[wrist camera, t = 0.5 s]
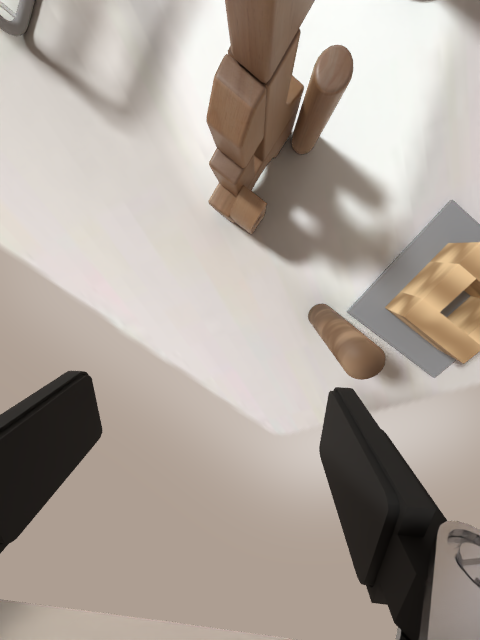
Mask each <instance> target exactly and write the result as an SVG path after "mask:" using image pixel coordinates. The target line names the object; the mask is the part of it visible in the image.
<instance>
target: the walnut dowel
mask: <svg viewBox="0 0 480 640" xmlns="http://www.w3.org/2000/svg"><path fill="white" fill-rule="evenodd" d="M308 318H309V321H310V323H311V324H312V325H313V327H314V328H315V330H316V331H317V332H318V334H319V335H320V337H321V338H322V339H323V341H324V342H325V344H326V345H327V346H328V348H329V349H330V351H331V352H332V353H333V355H334V356H335V357H336V359H337V360H338V362H339V363H340V364H341V366H342V367H343V369H344V370H345V371H346V373H347V374H348V375H349V376H351V377H353V378H355V379H368V378H371V377H373V376H375V375H377V374H378V373H379V372H380V371H381V370H382V369H383V367H384V365H385V360H386V359H385V354H384V352H383V350H382V349H381V348H380V347H378V346H377V345H376V344H375V343H374V342H372V341H371V340H370V339H369V338H367V337H366V336H365V335H364V334H362V333H361V332H360V331H359V330H357V329H356V328H355V327H354V326H353V325H351V324H350V323H349V322H348V321H346V320H345V319H344V318H343V317H341V316H340V315H339V314H338V313H337V312H335V311H334V310H333V309H332V308H330V307H329V306H328V305H326V304H318V305H315V306H314V307H312V308H311V310H310V311H309V314H308Z"/></svg>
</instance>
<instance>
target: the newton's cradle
mask: <svg viewBox="0 0 480 640" xmlns="http://www.w3.org/2000/svg"><path fill="white" fill-rule="evenodd" d="M34 2H35V0H20V1H19V5H18V9H17V13H16V14H15V13H14V12H13V11H12V10H10V9H9V8H8V7H7V6H5V5H4V4H3V3H2V2H0V6H1V7H2V8H4V9H5V10H6V11H7V12H9V13H10V14H11V15H12V16H14V17H15V18H14V19H13V20H12V21H7V20H5V19H4V18H3V17H2V16H1V15H0V28H1V29H2V30H4V31H5V32H7V33H8V34H11V35H14V36H19V35H22V34H23V33H25V32H26V30H27V27H28V24H29V21H30V17H31V13H32V10H33V6H34Z"/></svg>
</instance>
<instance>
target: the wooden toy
mask: <svg viewBox="0 0 480 640" xmlns="http://www.w3.org/2000/svg"><path fill="white" fill-rule="evenodd" d="M314 1H315V0H225V4H226V11H227V19H228V27H229V35H230V43H231V46H230V48H229V50H228V54H226V55H225V56H224V58H223V60H222V62H221V64H220V66H219V68H218V70H217V72H216V74H215V76H214V81H213V86H212V92H211V97H210V102H209V108H208V113H207V124H208V126H209V129H210V131H211V134H212V136H213V139H214V142H215V144H216V147H217V149H216V151H215V153H214V155H213V156H212V158H211V160H210V162H209V165H210V167H211V169H212V171H213V172H214V174H215V176H216V178H217V179H218V181H219V184H218V186H217V187H216V189H215V191H214V193H213V194H212V196H211V198H210V199H209V204H210V205H211V206H212V207H213V208H214V209H215V210H216V211H218V212H219V213H220V214H222V215H223V216H224V217H225V218H227V219H228V220H229V221H231V222H232V223H234V222H236V223H237V224H238V225H239V226H241V227H242V228H243V229H245V230H246V231H247V232H249V233H250V234H251V235H252V233H253V232H254V230H255V229H256V228H257V226H258V225H259V223H260V222H261V220H262V219H263V217H264V215H265V210H266V206H267V203H266V202H265V201H263V200H262V199H261V198H260V197H258V196H257V195H256V194H255V193H253V192H252V189H253V187H254V185H255V183H256V181H257V180H258V178H259V176H260V175H261V173H262V172H263V170H264V169H265V167H266V166H267V164H268V163H269V162H270V160H271V159H272V158H275V157H276V156H277V155H278V153H279V152H280V150H281V148H282V147H283V145H284V144H285V142H286V141H287V139H288V137H289V136H290V134H291V131H292V128H293V125H294V121H295V118H296V114H297V111H298V107H299V103H300V100H301V96H302V93H303V90H304V86H303V85H302V84H301V83H300V82H299V81H298V80H297V79H296V78H295V77H294V76H292V72H293V67H294V62H295V57H296V52H297V47H298V42H299V37H300V29H299V27H300V26H301V24H302V22H303V20H304V18H305V17H306V15H307V13H308V11H309V10H310V8H311V6H312V4H313V3H314ZM352 73H353V59H352V56H351V53H350V52H349V50H348V49H347V48H345V47H344V46H342V45H334V46H330V47H329V48H327V49H326V50H324V51H323V52H322V54H321V55H320V56H319V57H318V59H317V61H316V63H315V65H314V69H313V72H312V75H311V78H310V81H309V84H308V88H307V91H306V94H305V97H304V100H303V104H302V107H301V110H300V113H299V116H298V120H297V123H296V126H295V129H294V132H293V135H292V140H291V142H292V147H293V149H294V150H295V152H297V153H298V154H306V153H308V152H310V151H311V150H312V149H313V147H314V145H315V143H316V142H317V140H318V138H319V136H320V134H321V133H322V131H323V129H324V127H325V125H326V124H327V122H328V120H329V118H330V116H331V115H332V113H333V111H334V109H335V107H336V106H337V104H338V102H339V100H340V98H341V97H342V95H343V93H344V91H345V89H346V88H347V86H348V84H349V82H350V80H351V77H352Z"/></svg>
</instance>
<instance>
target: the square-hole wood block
mask: <svg viewBox="0 0 480 640" xmlns="http://www.w3.org/2000/svg"><path fill="white" fill-rule="evenodd" d="M462 291H465V292H466V293H468V294H469V295H470V297H469V298H468V299H467V300H466V301H464V302H463V303H462V304H461V305H460V306H459V307H458V308H457V309H456V310H454V311H453V312H452V313H451V314H450V315H449V316H448V317H447V318H446V317H445V316H444V315H443V314H441V313H440V312H441V311H442V310H443V309H444V308H445V307H446V306H447V305H448V304H449V303H450V302H452V301H453V300H454V299H455V298H456V297H457V296H458V295H459V294H460V293H461V292H462ZM385 308H386V309H387V310H388V311H389V312H391V313H392V314H393V315H395V316H396V317H397V318H398V319H400V320H401V321H402V322H404V323H405V324H406V325H407V326H409V327H410V328H411V329H412V330H414V331H415V332H416V333H418V334H419V335H420V336H421V337H423V338H424V339H425V340H427V341H428V342H429V343H430V344H432V345H433V346H434V347H435V348H437V349H438V350H440V351H442V352H444V353H445V354H447V355H449V356H451V357H453V358H454V359H456V360H458V361H460V362H462V363H463V364H464V363H465V362H467V361H468V360H469V359H470V358H472V357H473V356H474V355H475V354H477V353H478V352H479V351H480V242H469V243H448V244H447V245H446V246H445V247H444V248H443V249H442V250H441V251H440V252H439V253H438V254H437V255H436V256H435V257H434V258H433V259H432V260H431V261H430V262H429V263H428V264H427V265H426V266H425V267H424V268H423V269H422V270H421V271H420V272H419V273H418V274H417V275H416V276H415V277H414V278H413V279H412V280H411V281H410V282H409V283H408V284H407V285H406V286H405V288H404V289H403V290H402V291H401V292H400V293H399V294H398V295H397V296H396V297H395V298H394V299H393V300H392V301H391V302H390V303H389V304H388V305H387V306H386V307H385Z"/></svg>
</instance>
